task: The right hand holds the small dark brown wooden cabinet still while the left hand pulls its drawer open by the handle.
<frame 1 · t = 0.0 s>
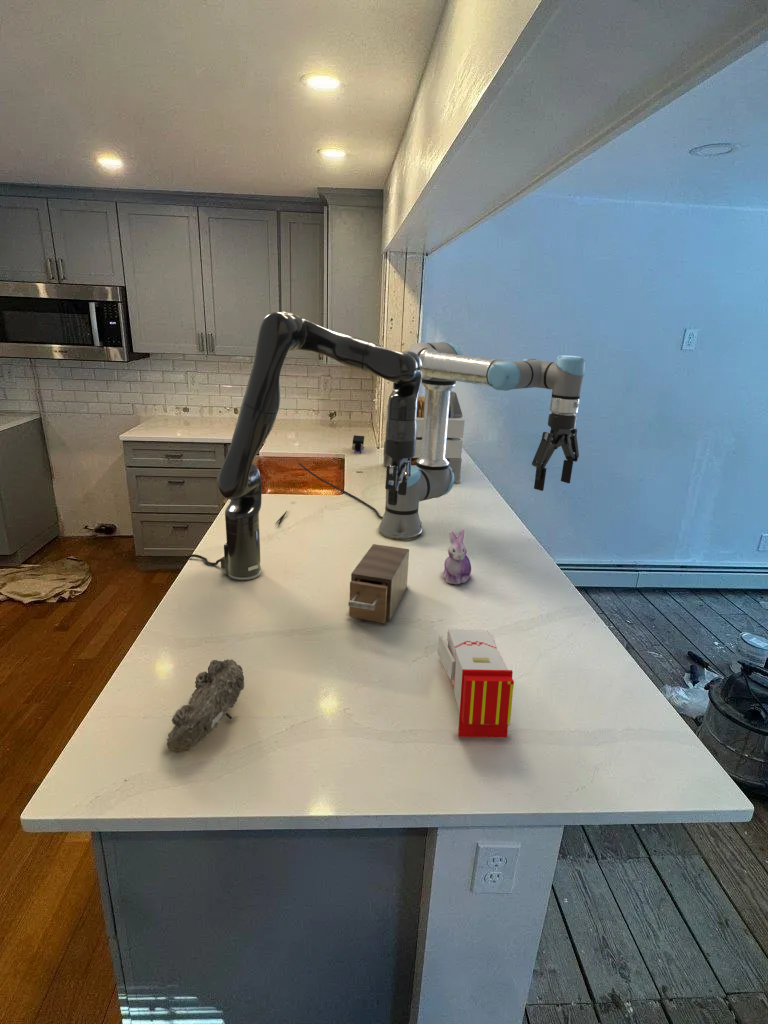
left hand: (397, 499, 144), 29 cm above the counter, tool pointing down, fingers open, 8 cm apart
right hand: (552, 485, 166), 28 cm above the counter, tool pointing down, fingers open, 13 cm apart
toy: (469, 691, 119), on the counter
feather: (285, 514, 213), on the counter
cabinet: (380, 600, 154), on the counter
white tiered storage organizer: (419, 473, 275), on the counter
figurine: (456, 578, 168), on the counter
figurine character: (358, 451, 311), on the counter
drawer: (374, 591, 146), point 6 cm above the counter, slide at 1.6 cm
fossil: (212, 717, 108), on the counter
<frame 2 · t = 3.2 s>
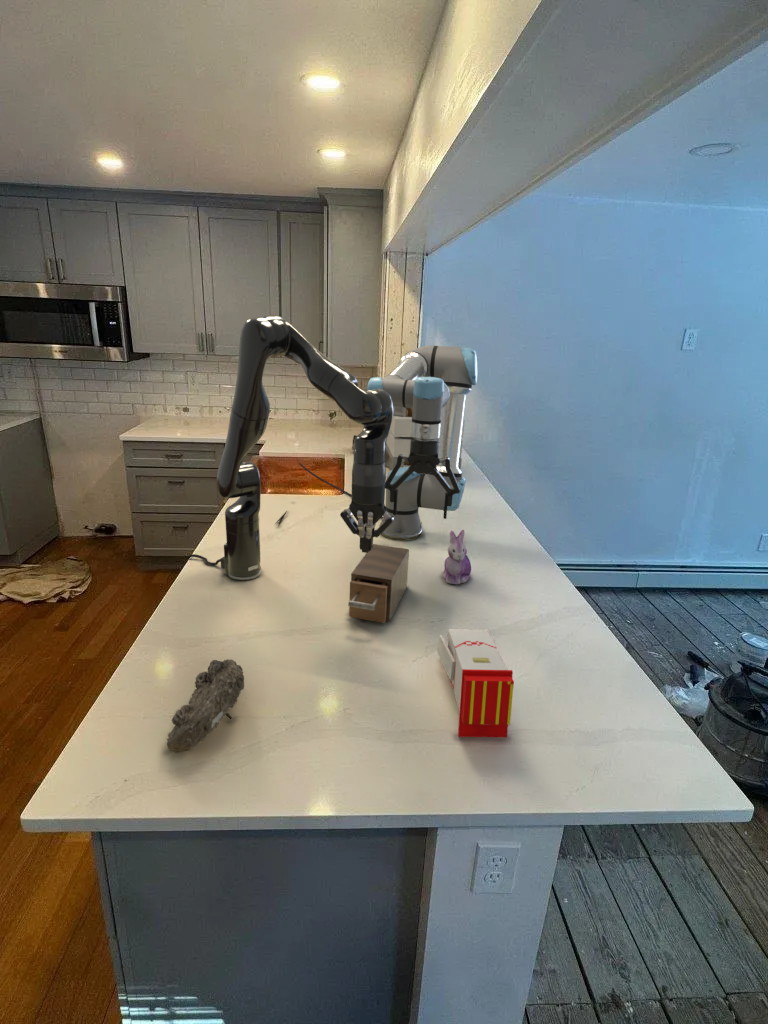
left hand: (366, 551, 133), 21 cm above the counter, tool pointing down, fingers closed
right hand: (419, 515, 154), 22 cm above the counter, tool pointing down, fingers open, 13 cm apart
nothing on the counter moved.
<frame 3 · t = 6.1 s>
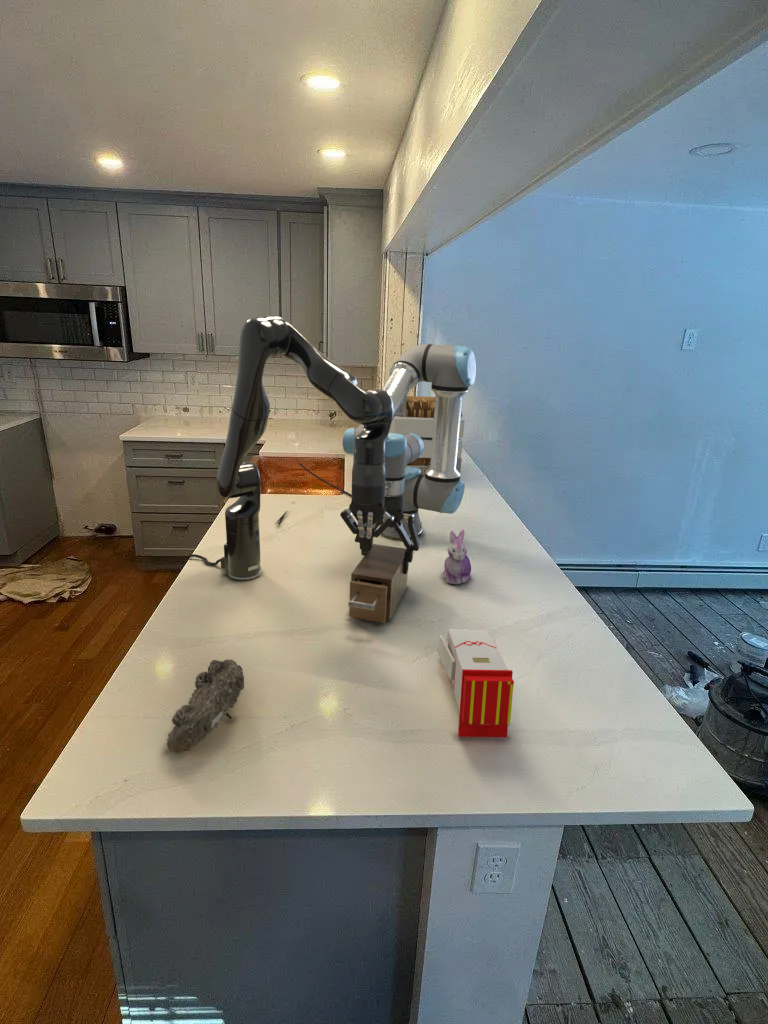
left hand: (366, 551, 133), 21 cm above the counter, tool pointing down, fingers closed
right hand: (386, 569, 157), 7 cm above the counter, tool pointing down, fingers closed on cabinet, 10 cm apart
cabinet: (380, 600, 154), on the counter, touching right hand
everything else where it was.
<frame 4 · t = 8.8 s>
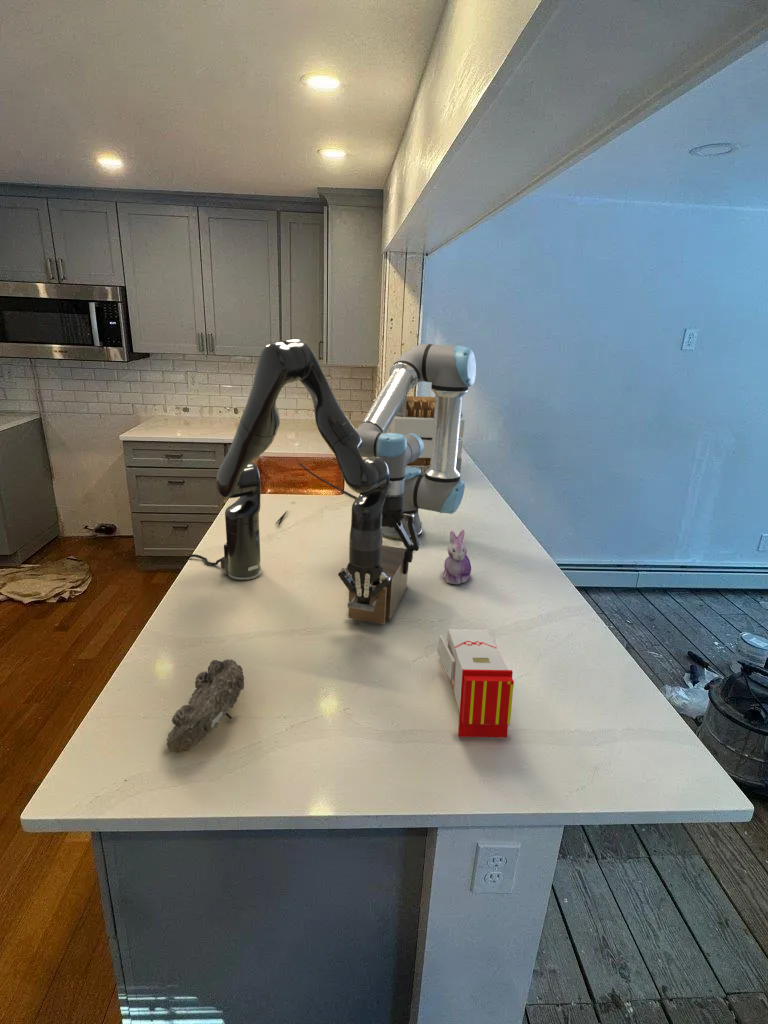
left hand: (363, 608, 137), 6 cm above the counter, tool pointing down, fingers closed
right hand: (386, 569, 157), 7 cm above the counter, tool pointing down, fingers closed on cabinet, 10 cm apart
cabinet: (379, 600, 154), on the counter, touching right hand
drawer: (373, 592, 146), point 6 cm above the counter, slide at 2.2 cm, touching left hand
everything else where it was.
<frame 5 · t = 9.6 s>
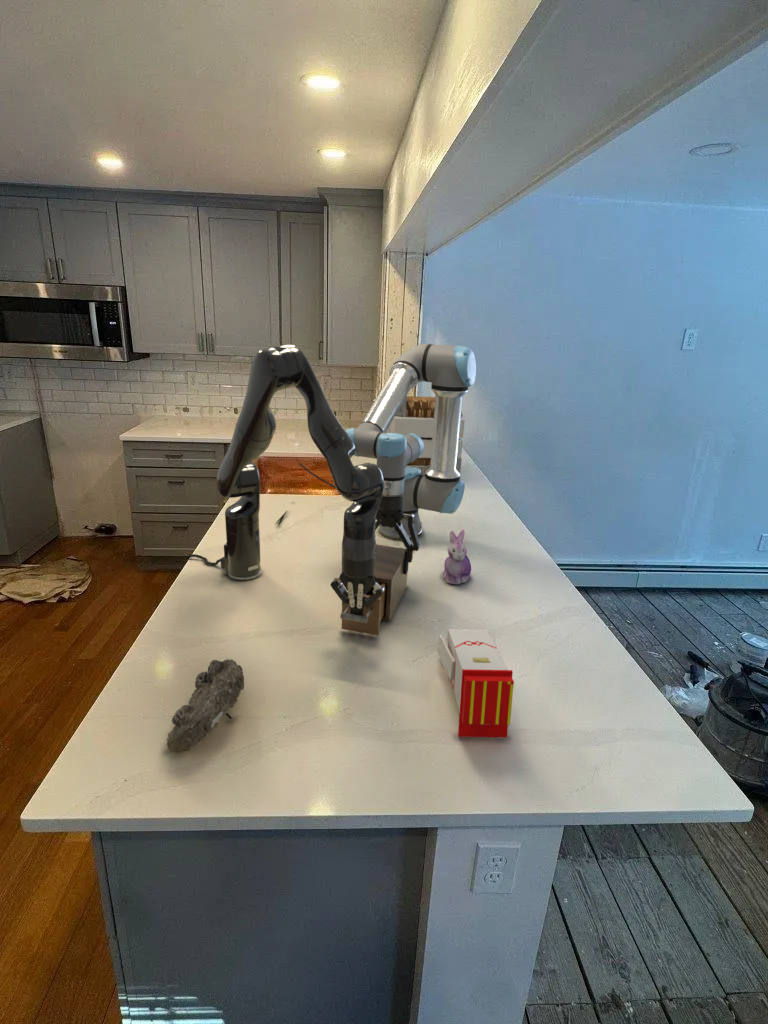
left hand: (356, 619, 132), 6 cm above the counter, tool pointing down, fingers closed
right hand: (385, 569, 157), 7 cm above the counter, tool pointing down, fingers closed on cabinet, 10 cm apart
cabinet: (379, 600, 154), on the counter, touching right hand
drawer: (368, 601, 141), point 6 cm above the counter, slide at 7.5 cm, touching left hand
everything else where it was.
when the right hand's fingers open (7 cm above the counter, at t = 11.3 s): cabinet stays where it is, on the counter.
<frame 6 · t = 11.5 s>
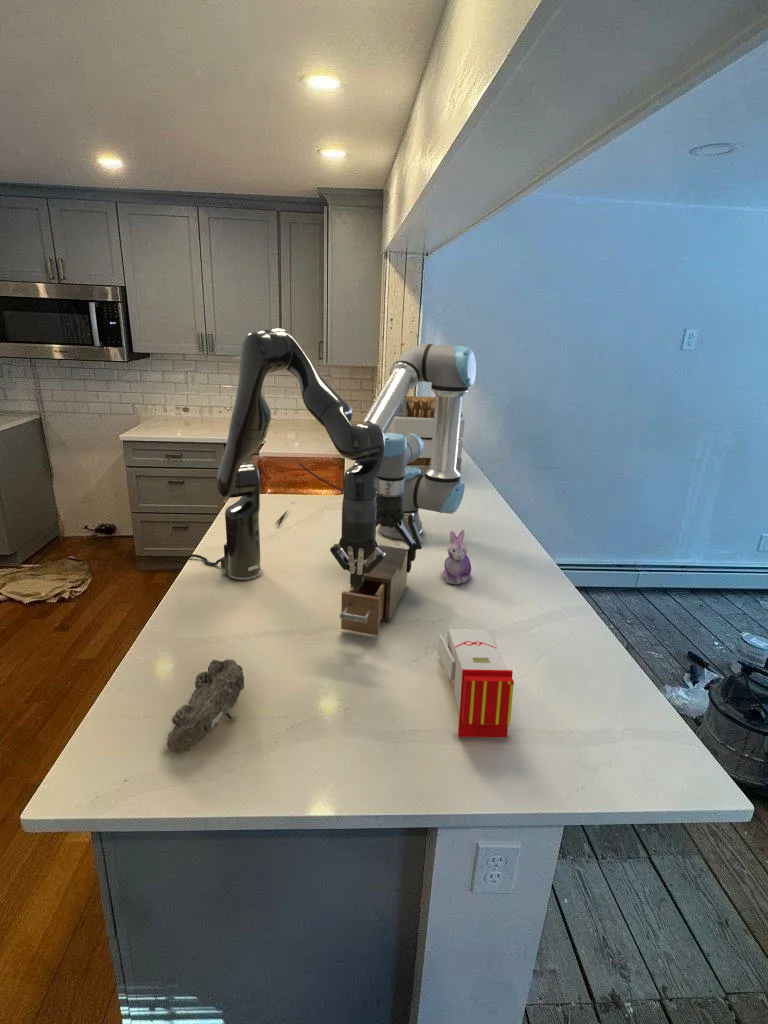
left hand: (357, 587, 129), 15 cm above the counter, tool pointing down, fingers closed
right hand: (385, 567, 157), 7 cm above the counter, tool pointing down, fingers open, 12 cm apart
cabinet: (379, 600, 154), on the counter
drawer: (367, 601, 141), point 6 cm above the counter, slide at 7.5 cm
everything else where it was.
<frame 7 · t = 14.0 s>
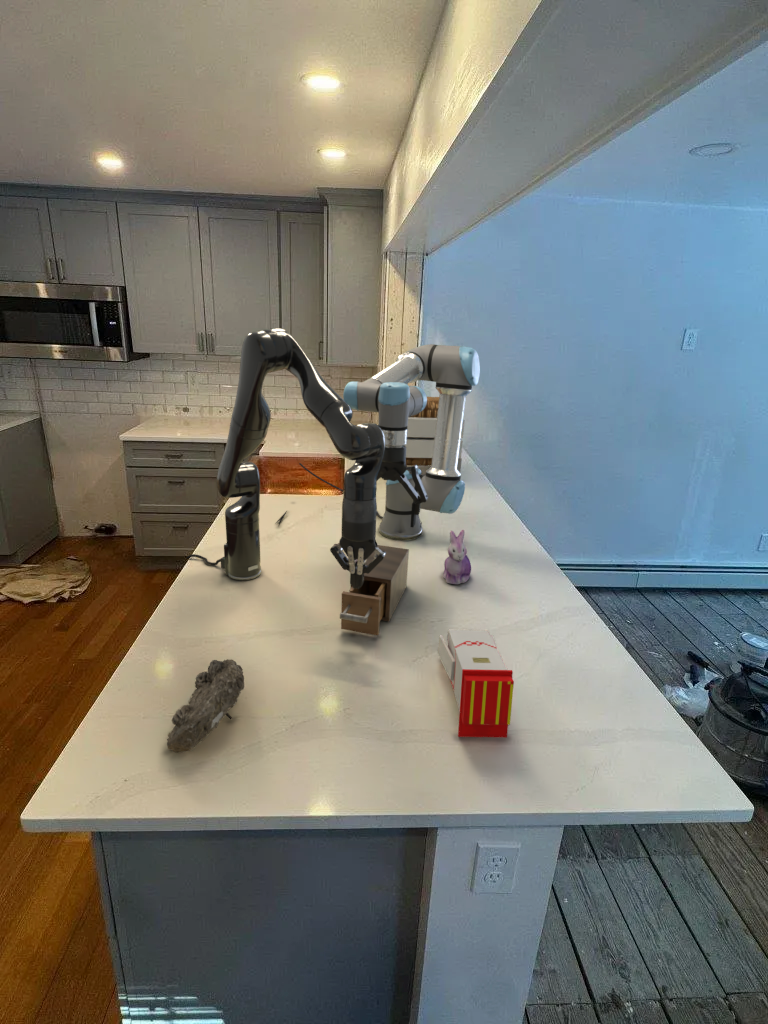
left hand: (357, 587, 129), 15 cm above the counter, tool pointing down, fingers closed
right hand: (388, 522, 152), 21 cm above the counter, tool pointing down, fingers open, 13 cm apart
nothing on the counter moved.
at the end: drawer slide at 7.5 cm; cabinet tilted 0°; cabinet never tilted more than 1° during the clip; cabinet moved 0.2 cm from its start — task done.
